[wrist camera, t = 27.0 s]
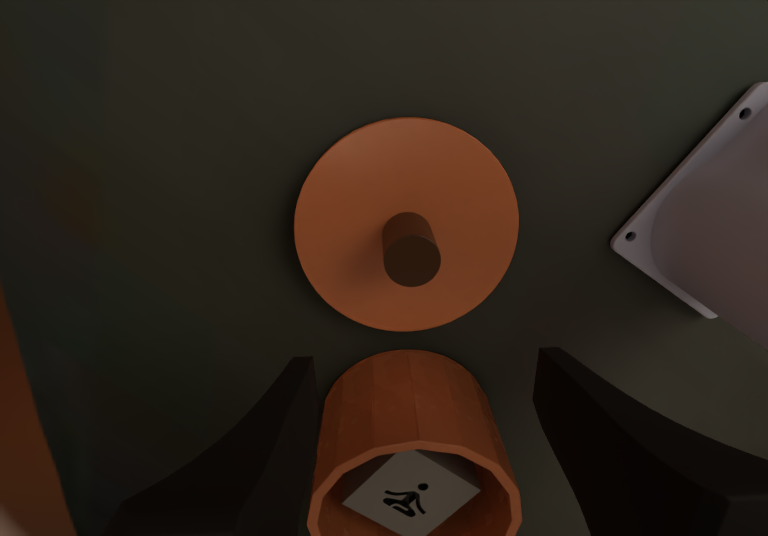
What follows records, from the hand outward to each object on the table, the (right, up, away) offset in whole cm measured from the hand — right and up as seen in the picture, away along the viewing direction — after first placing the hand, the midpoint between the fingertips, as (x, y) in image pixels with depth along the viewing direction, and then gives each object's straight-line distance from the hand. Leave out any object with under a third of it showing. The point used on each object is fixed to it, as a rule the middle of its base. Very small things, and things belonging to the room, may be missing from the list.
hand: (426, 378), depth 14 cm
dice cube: (0, -6, +13) cm, 14 cm away
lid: (0, +5, +8) cm, 9 cm away
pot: (0, -6, +13) cm, 15 cm away
